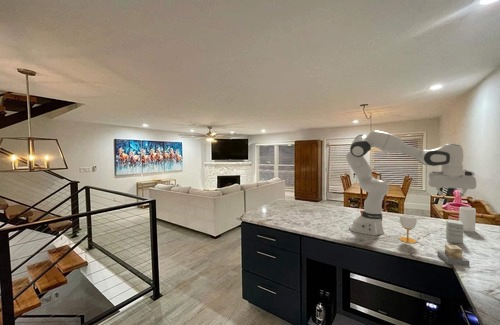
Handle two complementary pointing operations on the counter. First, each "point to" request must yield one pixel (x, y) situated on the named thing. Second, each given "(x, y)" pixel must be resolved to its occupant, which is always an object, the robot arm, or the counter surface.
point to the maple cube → (453, 251)
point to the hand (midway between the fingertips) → (450, 195)
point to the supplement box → (454, 231)
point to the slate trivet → (453, 259)
